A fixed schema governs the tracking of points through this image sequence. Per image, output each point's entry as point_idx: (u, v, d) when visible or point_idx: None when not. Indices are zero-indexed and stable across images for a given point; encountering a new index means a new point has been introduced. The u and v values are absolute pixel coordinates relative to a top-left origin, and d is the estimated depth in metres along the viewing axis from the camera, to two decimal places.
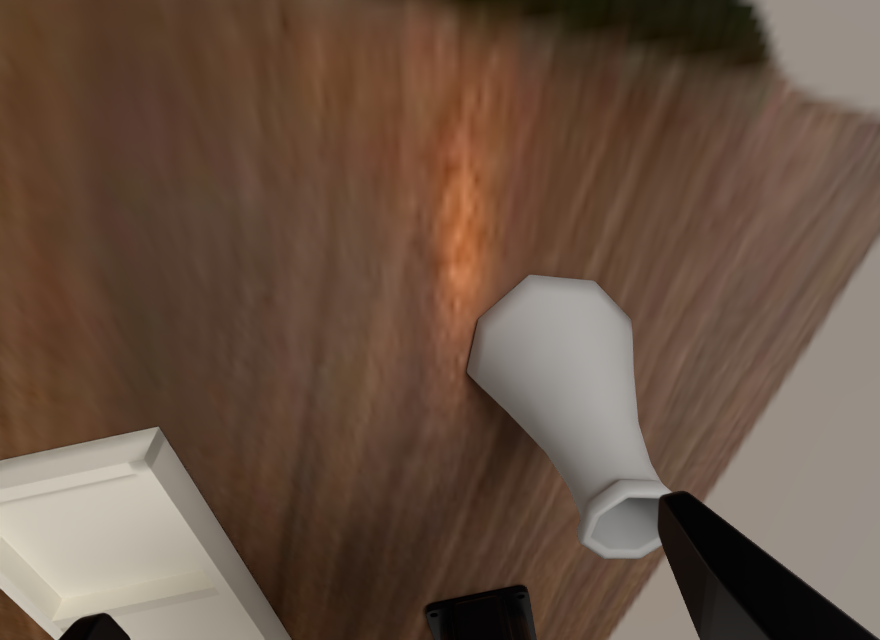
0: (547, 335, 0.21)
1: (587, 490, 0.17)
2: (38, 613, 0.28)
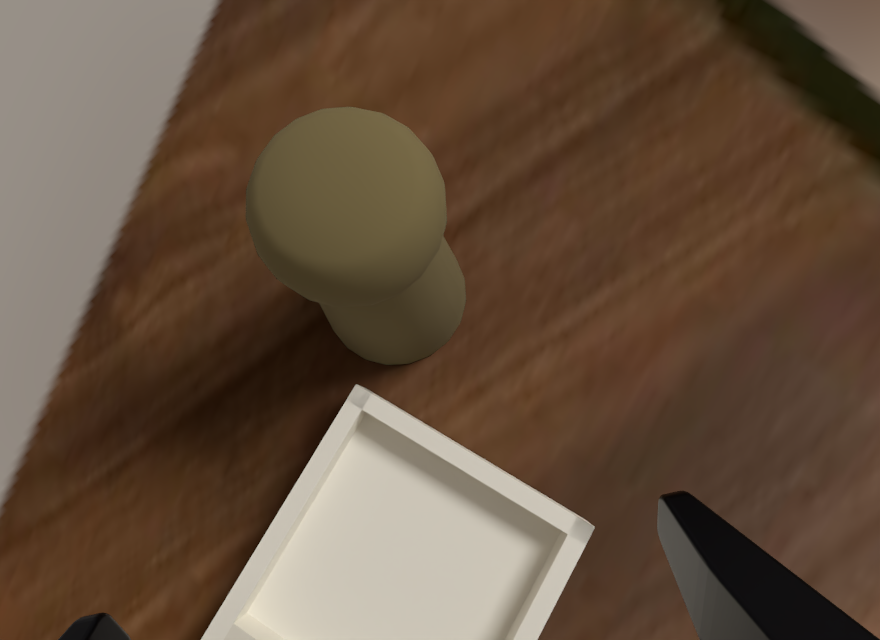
0: None
1: None
2: (242, 598, 0.20)
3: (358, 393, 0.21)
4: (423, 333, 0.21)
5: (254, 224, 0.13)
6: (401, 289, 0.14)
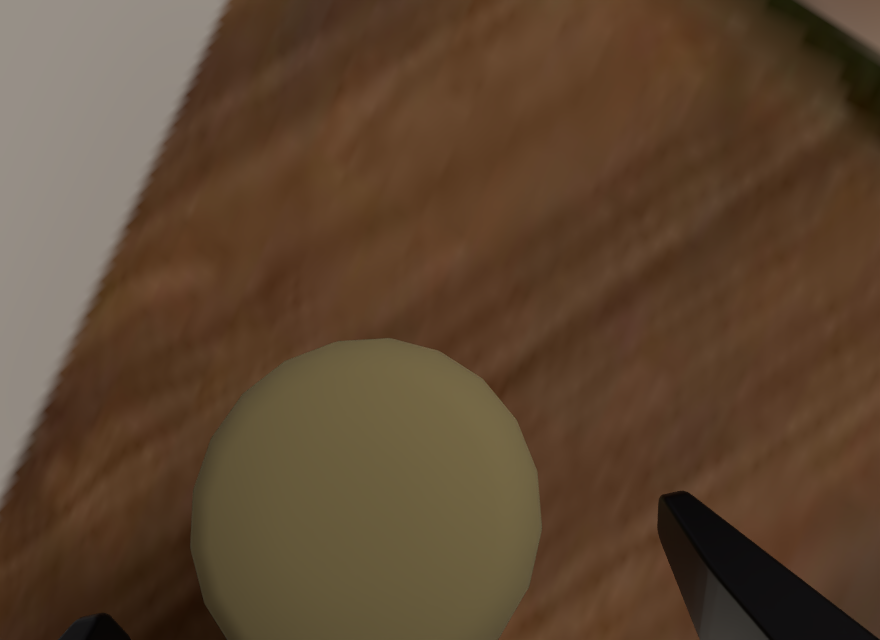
0: None
1: None
2: None
3: None
4: None
5: (201, 582, 0.07)
6: None
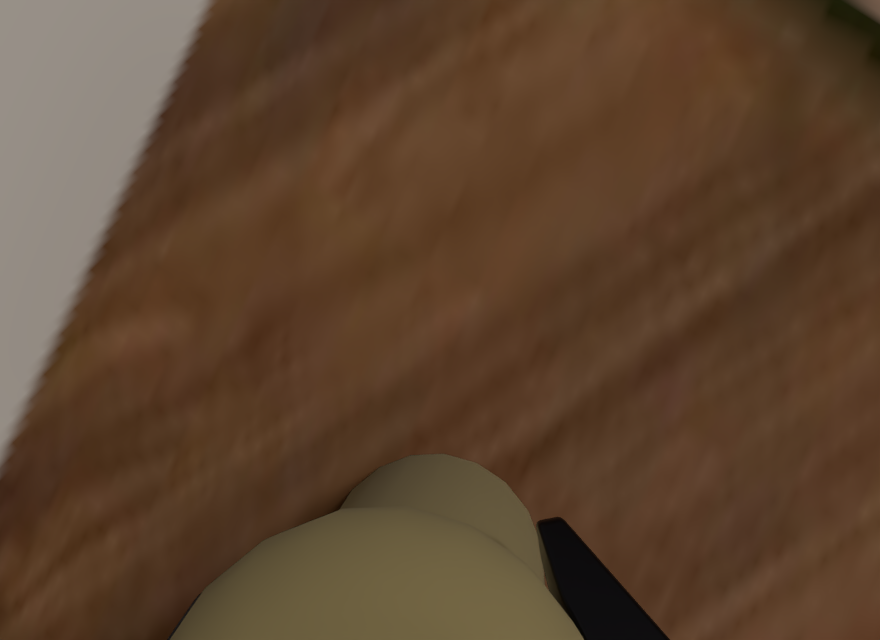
0: None
1: None
2: None
3: None
4: None
5: None
6: None
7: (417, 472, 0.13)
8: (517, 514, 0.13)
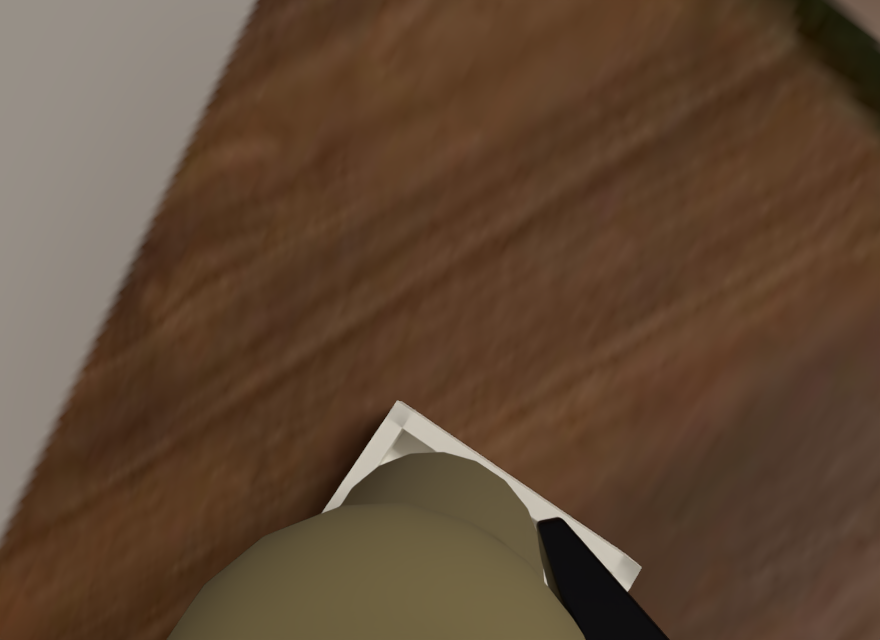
0: None
1: None
2: None
3: (399, 410, 0.20)
4: None
5: None
6: None
7: (417, 470, 0.13)
8: (517, 512, 0.13)
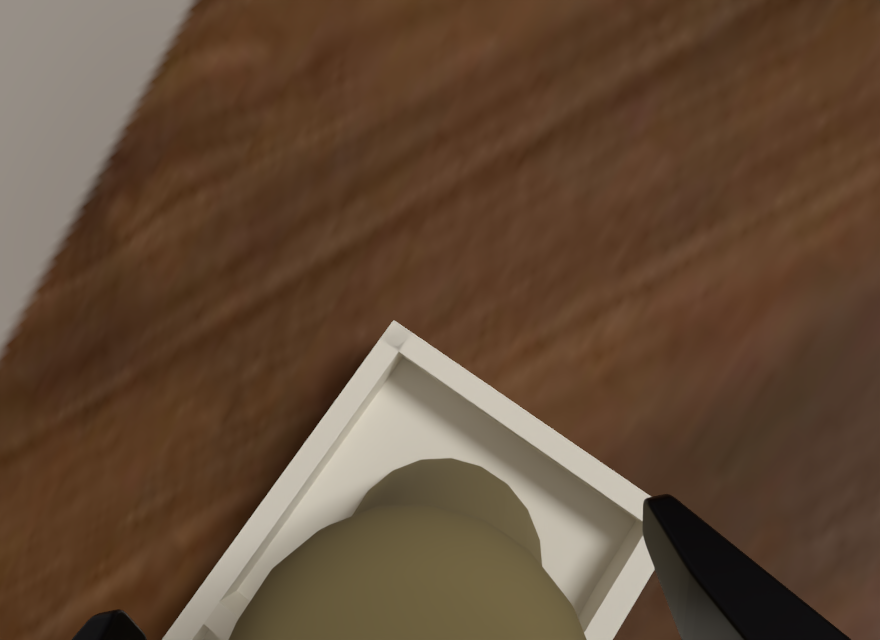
0: None
1: None
2: (232, 571, 0.16)
3: (395, 331, 0.17)
4: None
5: None
6: None
7: (429, 475, 0.15)
8: (518, 512, 0.15)
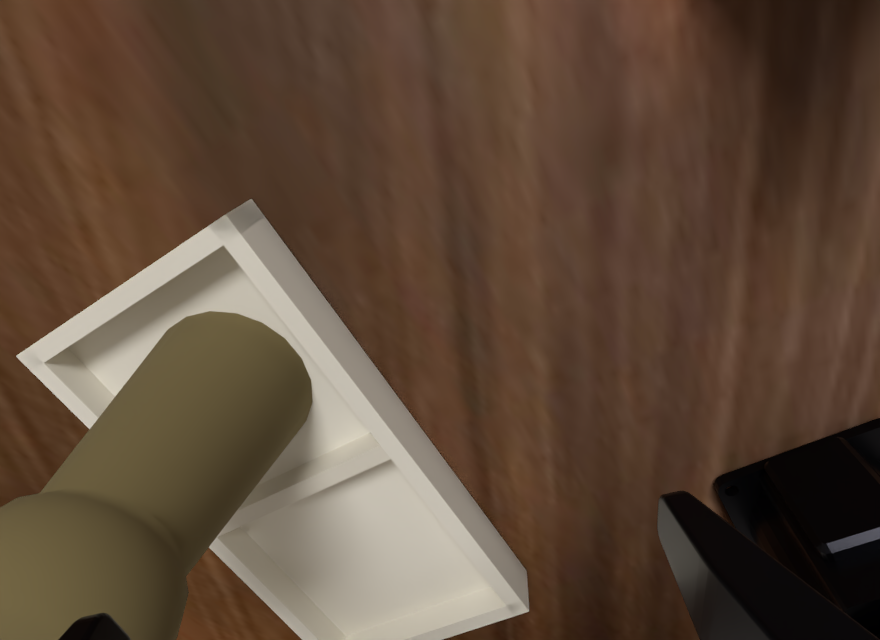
0: None
1: None
2: None
3: (26, 359, 0.20)
4: (272, 424, 0.18)
5: None
6: (169, 595, 0.12)
7: None
8: (174, 346, 0.18)
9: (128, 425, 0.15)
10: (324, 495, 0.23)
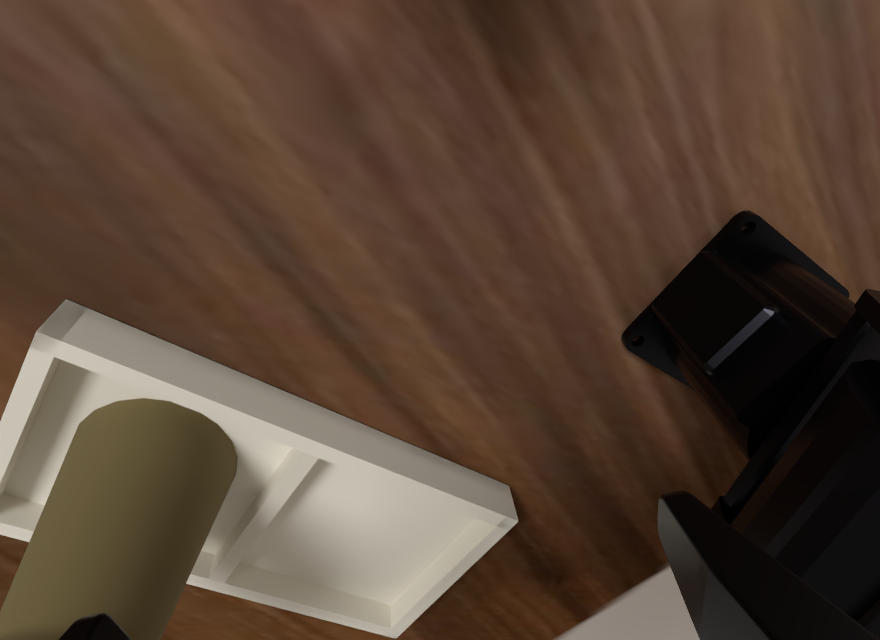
0: None
1: None
2: None
3: None
4: (186, 484, 0.19)
5: None
6: None
7: None
8: (70, 458, 0.19)
9: (38, 554, 0.16)
10: (295, 508, 0.24)
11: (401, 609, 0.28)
